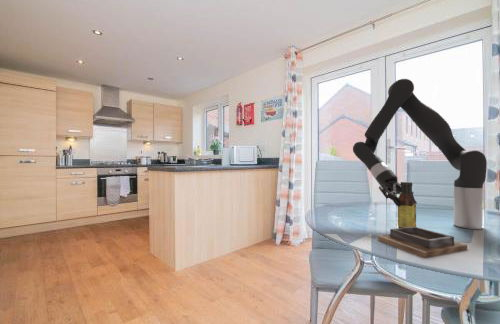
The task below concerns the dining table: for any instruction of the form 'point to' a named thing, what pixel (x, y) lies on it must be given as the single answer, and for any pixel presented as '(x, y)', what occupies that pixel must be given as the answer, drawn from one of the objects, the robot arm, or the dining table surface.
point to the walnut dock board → (422, 241)
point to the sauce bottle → (406, 206)
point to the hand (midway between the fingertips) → (407, 205)
